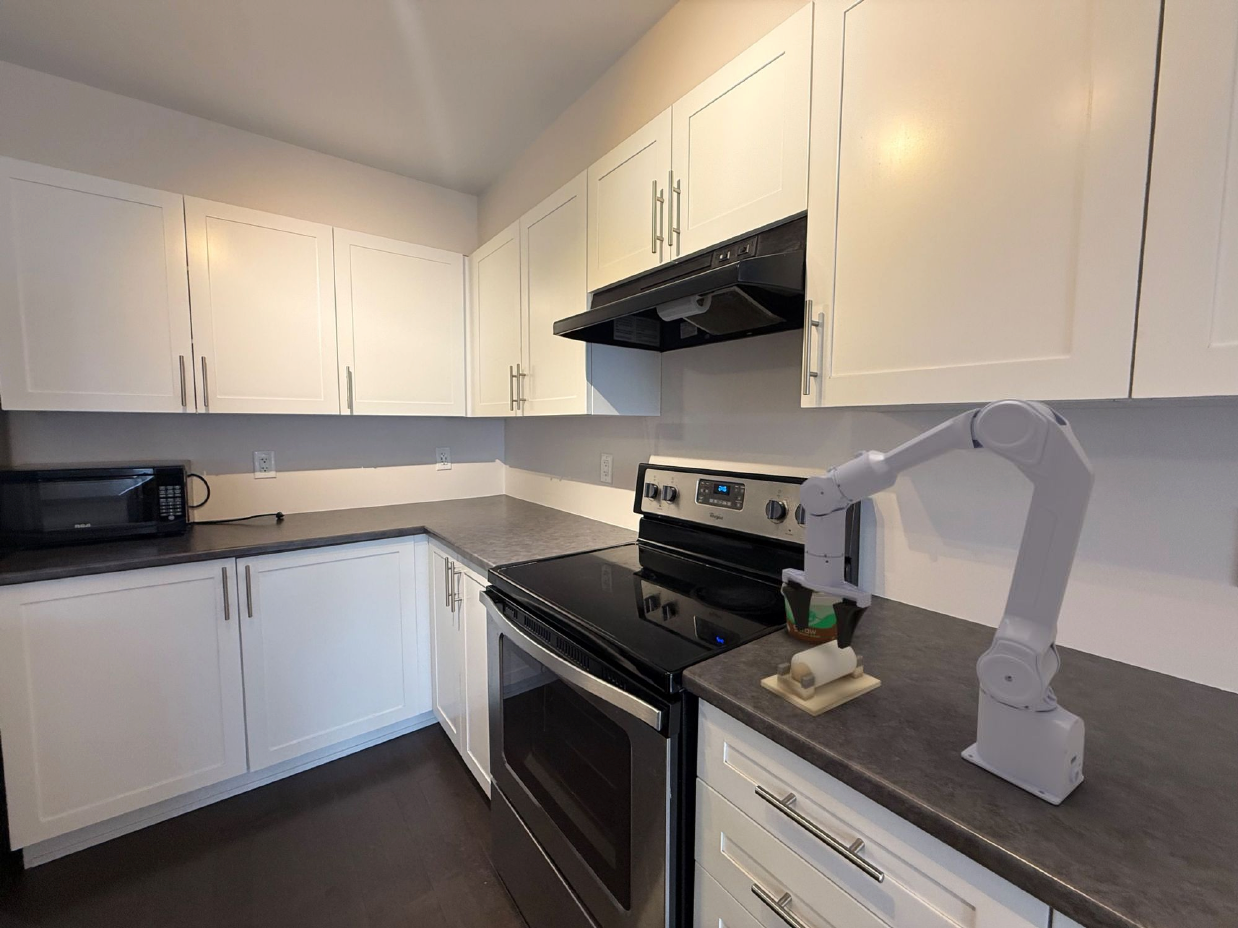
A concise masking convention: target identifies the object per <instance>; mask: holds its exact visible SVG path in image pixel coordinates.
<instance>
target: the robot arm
mask: <svg viewBox="0 0 1238 928" xmlns="http://www.w3.org/2000/svg"><path fill="white" fill-rule="evenodd" d="M977 449H986V450H987V451H989V452H991V453H992V454H994V455H996V456H999V457H1000V458H1003V459H1004V460H1006V461H1007V462H1010V463H1012V464H1013V465H1014V466H1015V467H1016V468H1017V469H1018V470H1019V472H1021V473H1022V474H1023V476H1025V477H1026V478H1027V479H1028V480H1029V481H1030V482H1031V484H1032V485H1033V487H1034V488H1033V492H1032V497H1031V501H1030V504H1029V509H1028V513H1027V517H1026V521H1025V525H1024V530H1023V533H1022V538H1021V540H1020V541H1021V542H1020V546H1019V549H1018V555H1017V558H1016V563H1015V567H1014V570H1013V571H1014V572H1013V574H1012V579H1011V583H1010V588H1009V591H1008V595H1007V599H1006V604H1005V607H1004V612H1003V615H1002V617H1001V620H1000V622H999V624H998V626H997V629H996V631H995V633H994V636H993V640H992V643H991V645H990V647H989V648H988V650H986V651H985V652H984V653H982V654H981V655H980V657H979V658H978V660H977V662H976V665H975V666H976V676H977V678H978V680H979V691H978V692H979V693H978V709H977V710H978V713H977V729H976V742H973V744H971V745H970V746H968V747H967V748H965V749H964V750H962V751H961V753H960V755H961V757H962V758H964V759H965V760H967V761H968V762H971V763H972V764H975V765H977V766H979V767H981V768H983V769H985V770H987V771H988V772H990V773H992V774H993V775H996V776H998V777H1000V778H1002V779H1004V780H1006V781H1008V782H1010V783H1012V784H1013V785H1015V786H1018V787H1019V788H1021V789H1024V791H1027V792H1029V793H1031V794H1033V795H1035V796H1037V797H1039V798H1041V799H1043V800H1045V801H1046V802H1048V803H1051V804H1053V805H1057V806H1058V805H1060V804H1061V803H1062V802H1063V801H1064V800H1065V799H1066V798H1067V796H1069V795H1070V794H1071V793H1072V792H1073V791H1074V790H1075V789H1076V788H1077V786H1079V785H1080V784H1081V783H1082V782H1083V781H1084V775H1083V763H1084V751H1085V750H1084V749H1085V736H1086V735H1085V733H1086V727H1085V722H1084V720H1083V718H1082V717H1080V716H1078V715H1076V714H1074V713H1072V712H1070V711H1068V710H1066V709H1065V708H1063V707H1062V706H1061V705H1060V704H1058V697H1057V696H1055V692H1054V691H1053V688H1052V687H1051V685H1050V682H1051V681H1052V679H1053V678H1054V676H1055V675H1057V674H1058V672H1059V670H1060V666H1061V658H1060V654H1059V652H1058V650H1057V645H1056V639H1057V635H1058V621H1059V617H1060V612H1061V609H1062V605H1063V602H1064V598H1065V594H1066V590H1067V587H1068V582H1069V579H1070V574H1071V571H1072V567H1073V564H1074V560H1075V556H1076V553H1077V548H1078V544H1079V541H1080V537H1081V534H1082V529H1083V525H1084V524H1085V523H1084V521H1085V518H1086V515H1087V511H1088V506H1089V504H1090V499H1091V497H1092V493H1093V488H1094V485H1095V480H1096V472H1095V470H1094V467H1093V465H1092V464H1091V462H1090V459H1089V458H1088V456H1087V455H1086V453H1085V451H1084V450H1083V448H1082V446H1081V444H1080V443H1079V440H1078V439H1077V437H1076V436H1075V433H1074V432H1073V429H1072V426H1071V424H1070V422H1069V421H1068V419H1066V418H1065V417H1064V416H1062V415H1061V414H1060V413H1058V412H1057V411H1056V410H1054V408H1052V407H1051V406H1049V405H1048V404H1045V403H1044V402H1042V401H1038V400H1032V399H1030V400H1029V399H1026V400H1025V399H1021V398H1018V397H1017V398H1016V397H1005V398H1001V399H997V400H995V401H991V402H990V403H988V404H986V405H985V406H984V407H983V408H978V407H977V408H975V409H974V408H973V409H972V410H968V411H966V412H963V413H961V414H959V415H957V416H955V417H952V418H950V419H948V420H946V421H944V422H942V423H940V424H938V425H937V426H935V427H933V428H931V429H930V430H927V431H925V432H923V433H922V434H920V435H918V436H916V437H914V438H912V439H910V440H909V441H907V442H905V443H903V444H901V445H900V446H897V447H896V448H894V449H892V450H890V451H888V452H886V453H885V452H881V451H878V450H874V449H873V450H870V451H868V452H867V451H866V450H860V451H858V452H856V453H854V454H853V456H854V458H853V459H852V460H850V461H848V462H846V463H844V464H842V465H840V466H838V467H836V466H830V467H829V468H827V469H826V475H823V476H821V475H812V476H810V477H808V479H807V480H805V481H804V482H802V484H801V486H800V487H799V489H798V490H799V491H798V499H799V504H800V505H801V506H802V508H803V509H804V510H805V521H804V523H805V524H804V527H805V528H804V562H803V563H804V564H803V565H804V566H803V568H804V571H803V570H798V569H796V568H795V569H794V568H790V567H789V568H785V569H782V573H781V578H782V579H781V581H782V582H783V583H784V582H785V583H786V585H787V586H784V587H782V586H781V588H782V592H783V593H784V595H785V596H784V595H783V596H784V598H785V597H786V598H787V600H788V603H789V605H790V607H791V610H792V614H793V617H794V621H795V626H796V630H798V631H801V630H804V629H808V625H809V610H810V602H811V597H812V593H813V590H816V591H819V592H822V593H825V594H828V595H831V596H834V597H837V598H840V599H842V602H838V603H835V604H833V609H834V612H835V616H836V622H837V645H838V648H840V649H844V648H847V647H849V646H850V647H851V644H852V640H853V637H854V633H855V631H856V628H857V626H858V624H859V622H860V621H861V619H862V618H863V617H864V614H865V613H866V612H867V610H868V609H869V607H870V606H872V592H871V591H868V590H865V589H862V588H860V587H858V586H856V585H854V584H852V583H849V582H847V581H845V549H846V548H845V547H846V545H845V543H846V542H845V541H846V513H847V509H848V508H850V506H851V505H852V504H855V503H857V502H860V501H862V500H864V499H867V498H869V497H872V496H874V495H876V494H878V493H880V492H882V491H885V490H887V489H890V488H892V487H894V486H895V484H896V481H897V479H898V476H899V474H900V473H902V472H905V471H908V470H910V469H912V468H915V467H917V466H920V465H922V464H924V463H926V462H929V461H931V460H934V459H937V458H939V457H942V456H945V455H946V454H948V453H950V452H951V453H952V452H954V451H956V450H977Z"/></svg>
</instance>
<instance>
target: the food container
mask: <svg viewBox="0 0 1238 928" xmlns="http://www.w3.org/2000/svg"><path fill="white" fill-rule="evenodd" d="M784 586H787V583H786V582H783V583H782V585H781V588H780V593H781V594H782V596H784V604H785V614H786V615H785V617H786V629H787V632H788V634H789V636H791V637H792V638H793V639H795V640H797V639H798V641H800V642H803V641H804V643H807V642H809V643H808V644H812V643H813V645H822V644H825V643H828V642H831V641H834V640H837V622H836V616H835V612H834V609H833V604H835V603H838V602H842V599H840V598H837V597H834V596H831V595H828V594H825V593H822V592H819V591H816V590H813V593H812V597H811V602H810V610H809V625H808V629H804V630H801V631H798V630H796V626H795V621H794V617H793V614H792V610H791V607H790V605H789V603H788V600H787V598H786V597H785V595H784V593H783V592H782V587H784Z"/></svg>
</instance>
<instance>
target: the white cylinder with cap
mask: <svg viewBox="0 0 1238 928" xmlns="http://www.w3.org/2000/svg"><path fill="white" fill-rule="evenodd" d="M856 656H857V655H856V653H855V652H854V650H853V648H852V647H851V645H850V646H849V647H847V648H844V649H840V648H838V645H837V640H834V641H831V642H828V643H825V644H819V645H817V646H815V647H812V648H809V649H806V650H804V651H800V652H797V653H795V654H794V655H793V656H792V657H791V661H790V664H791V666H790V669H791V674H792V676H793V678H794V679H795V680H796V681H797V682H801V678H802V677H804V676H807V675H809V674H810V675H812V676H814V677H815V679H814V688H816V687H818V686H820V685H823V684H825V683H828V682H830V681H832V680H835V679H837V678H839V677H842V676H844V675H847V674H849V673H851V672H853V671H854V670H855V668H856V665H857V660H856Z"/></svg>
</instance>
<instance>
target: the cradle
mask: <svg viewBox="0 0 1238 928" xmlns="http://www.w3.org/2000/svg"><path fill="white" fill-rule="evenodd" d="M855 656H856V660H857V665H856V668H855V670H854V671H853V672H851V673H849V674H847V675H844V676H842V677H839V678H837V679H835V680H832V681H830V682H828V683H825V684H823V685H820V686H818V687H816V688H814V679H815V677H814V676H812V675H810V674H809V675H807V676H804V677H802V678H801V682H797V681H796V680H795V679H794V678H793V676H792V674H791V663H788V662H783V663H780V664H778V665H777V669H776V670H777V674H774V675H771V676H769V677H766V678H763V679H760V686H761V687H763V688H765V689H767V690H768V691H770V692H771V693H774V695H777V696H779V697H780V698H782V699H783V700H784V701H785V700H786V701H787V702H789V703H791V704H792V705H793V706H795V707H798V708H799V709H801V710H802V711H804V712H806V713H808V714H809V715H810V716H813V718H814V717H817V716H819V715H821V714H823V713H825V712H827V711H829V710H832V709H834V708H836V707H838V706H840V705H843V704H845V703H847V702H849V701H851V700H853V699H855V698H857V697H860V696H862V695H863V694H866V693H868V692H870V691H872V690H875V689H876V688H878V687H881V684H882V681H881V680H880V679H878V678H875V677H873V676H871V675H869V674H867V673H864V656H863V655H860V654H856V655H855Z"/></svg>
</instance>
